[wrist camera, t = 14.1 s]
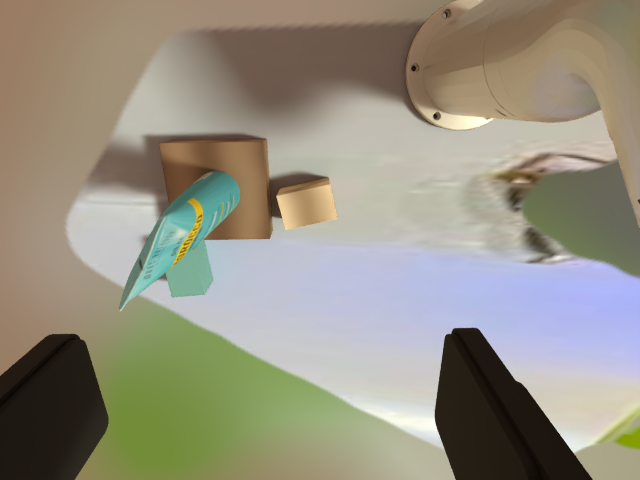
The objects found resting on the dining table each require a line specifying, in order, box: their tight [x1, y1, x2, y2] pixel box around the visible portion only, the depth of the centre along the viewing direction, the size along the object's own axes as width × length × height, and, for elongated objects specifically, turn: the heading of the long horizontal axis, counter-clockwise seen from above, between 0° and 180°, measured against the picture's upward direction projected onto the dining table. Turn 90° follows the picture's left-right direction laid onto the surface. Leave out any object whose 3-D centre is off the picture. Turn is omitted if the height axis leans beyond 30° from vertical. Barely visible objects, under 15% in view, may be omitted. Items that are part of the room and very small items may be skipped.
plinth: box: [159, 139, 273, 240], centre depth 41 cm, size 11×11×3 cm
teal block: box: [166, 240, 213, 297], centre depth 44 cm, size 6×4×4 cm, turn 5°
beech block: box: [276, 177, 337, 230], centre depth 41 cm, size 6×4×4 cm, turn 103°
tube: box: [119, 171, 240, 312], centre depth 30 cm, size 7×5×19 cm, turn 153°
